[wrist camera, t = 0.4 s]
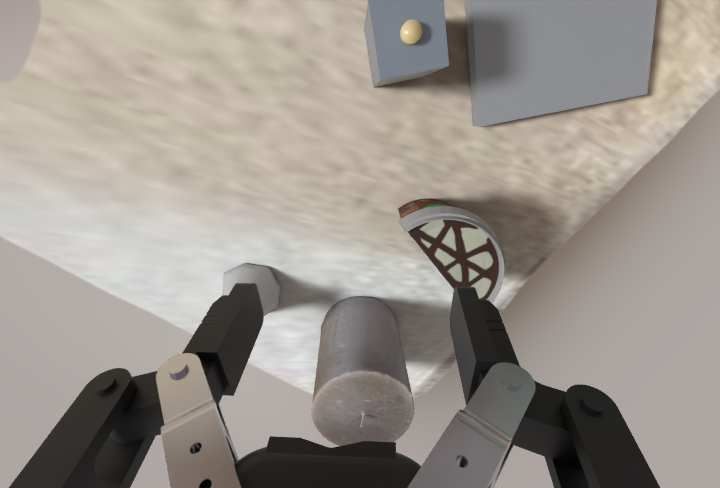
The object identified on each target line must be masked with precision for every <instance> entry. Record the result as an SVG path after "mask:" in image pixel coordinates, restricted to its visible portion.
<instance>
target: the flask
mask: <svg viewBox="0 0 720 488" xmlns="http://www.w3.org/2000/svg"><path fill="white" fill-rule="evenodd" d="M236 283H255V284H256V285H257V288H258V292H259V296H260V300H261V304H262V308H263V314H264V315H266V314H268V313H269V312H271V311H272V310H274V309H275V308H277V307H278V305H279V297H280V289H281V286H280V284H279V283H278V281H277V280H276V278H275V277H274V275H273V274H272V272H271V270H270V269H269V267H263V266H257V265H251V264H245V263H244V264H242V265H240V266H238V267H235V268H233V269H231V270H229V271H227V272H225V273H224V278H223V295H229V294H230V292H231V290H232V288H233V287H234V285H235V284H236Z"/></svg>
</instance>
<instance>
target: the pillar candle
mask: <svg viewBox="0 0 720 488" xmlns="http://www.w3.org/2000/svg"><path fill="white" fill-rule="evenodd" d="M413 415H414V403H413V397H412V392H411V388H410V383H409V379H408V374H407V369H406V365H405V360H404V355H403V350H402V346H401V341H400V337H399V332H398V328H397V323H396V319H395V316H394V314H393V313H392V311H391V310H390V309H389V307H388V306H387V305H385V304H384V303H383V302H381V301H379V300H377V299H374V298H367V297H350V298H347V299H344V300H341V301H339V302H338V303H337V304H335V305H334V306H332V307H331V309H330V310H329V311H328V313H327V314H326V316H325V319H324V321H323V324H322V326H321V338H320V346H319V354H318V363H317V371H316V379H315V387H314V395H313V404H312V419H313V422H314V424H315V426H316V428H317V429H318V431H319V432H320V433H321V434H322V435H323V437H325V438H326V439H327V440H328V441H330V442H332V443H334V444H336V445H339V446H344V445H348V444H353V443H357V442H361V441H377V442H394V441H395V440H397V439H398V438H400V437H401V436H402V435H403V434H404V433H405V432H406V430H407V429H408V428H409V426H410V424H411V422H412V419H413Z"/></svg>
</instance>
